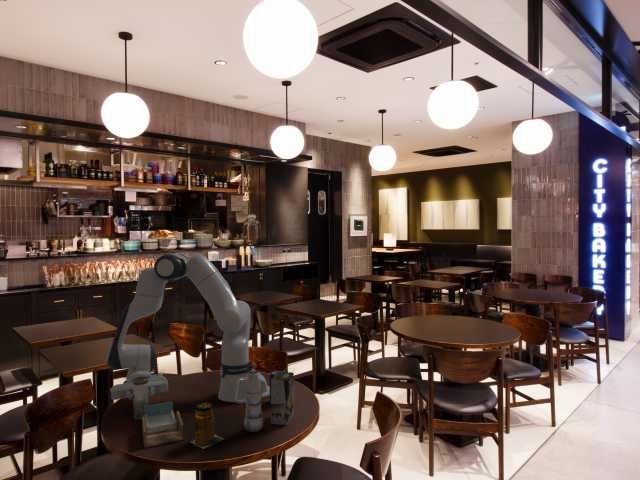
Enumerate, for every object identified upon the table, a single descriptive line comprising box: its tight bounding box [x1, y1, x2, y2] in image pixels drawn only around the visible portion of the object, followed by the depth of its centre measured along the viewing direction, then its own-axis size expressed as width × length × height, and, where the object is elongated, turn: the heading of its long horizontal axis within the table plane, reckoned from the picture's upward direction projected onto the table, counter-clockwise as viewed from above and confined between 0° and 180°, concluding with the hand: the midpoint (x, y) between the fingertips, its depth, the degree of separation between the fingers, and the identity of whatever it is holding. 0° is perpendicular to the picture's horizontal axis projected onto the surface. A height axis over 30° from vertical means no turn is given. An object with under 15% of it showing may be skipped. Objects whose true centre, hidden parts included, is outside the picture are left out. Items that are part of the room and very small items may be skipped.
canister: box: [132, 377, 149, 420], centre depth 161 cm, size 5×5×14 cm
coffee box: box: [270, 371, 295, 426], centre depth 159 cm, size 9×6×16 cm
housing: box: [141, 410, 185, 449], centre depth 146 cm, size 12×12×5 cm
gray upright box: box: [269, 369, 286, 402], centre depth 175 cm, size 7×7×12 cm
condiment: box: [190, 402, 225, 450], centre depth 143 cm, size 7×8×12 cm
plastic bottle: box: [243, 370, 264, 433], centre depth 150 cm, size 6×7×20 cm
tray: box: [145, 401, 177, 434], centre depth 154 cm, size 10×13×6 cm
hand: (140, 395), depth 160 cm, fingers closed on canister, 5 cm apart
